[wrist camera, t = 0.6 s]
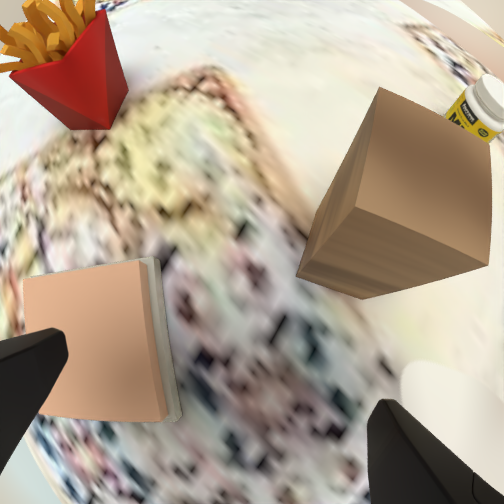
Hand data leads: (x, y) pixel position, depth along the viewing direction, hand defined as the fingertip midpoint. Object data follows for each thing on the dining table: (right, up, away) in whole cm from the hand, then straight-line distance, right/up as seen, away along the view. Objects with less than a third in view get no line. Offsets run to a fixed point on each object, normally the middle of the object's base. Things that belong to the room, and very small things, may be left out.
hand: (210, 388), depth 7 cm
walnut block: (+7, +3, +14) cm, 16 cm away
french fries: (-13, +16, +17) cm, 27 cm away
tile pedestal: (-10, -3, +12) cm, 16 cm away
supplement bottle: (+21, +14, +16) cm, 30 cm away
